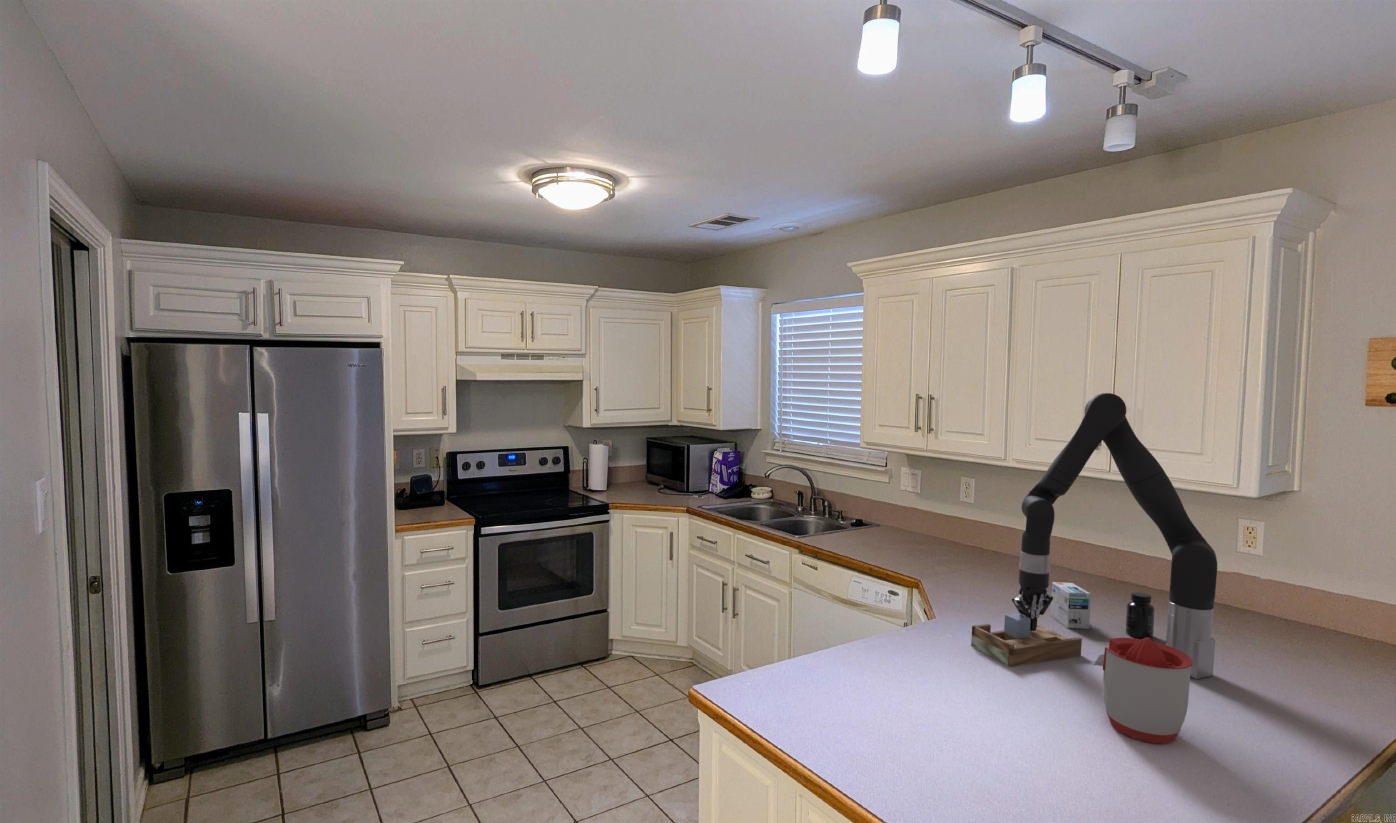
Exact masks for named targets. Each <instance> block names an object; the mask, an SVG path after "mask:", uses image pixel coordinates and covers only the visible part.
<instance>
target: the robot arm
mask: <svg viewBox="0 0 1396 823" xmlns="http://www.w3.org/2000/svg"><path fill="white" fill-rule="evenodd" d="M1102 441H1103V443H1104V444H1105V446H1106V447H1107V449H1108V450H1109V452H1110V455H1111V458H1112V459H1113V461H1114V463H1115V466H1116V468H1117V470H1118V471H1119V474H1120V475H1121V477H1122V479H1123V481H1124V483H1125V485H1126V487H1128V490H1129V492H1130V493H1131V495H1132V497H1133V498H1134V499H1135V501H1136V502H1137V503H1138V505H1139V506H1140V508H1141V509H1142V510H1143V511H1144V512H1145V513H1146V515H1147V516H1148V517H1149V519H1151V520H1152V522H1153V523H1154V524H1155V525H1156V526H1157V528H1158V529H1159V531H1160V533H1161V534H1162V537H1163V538H1164V540H1165V543H1166V545H1167V547H1168V549H1169V551H1170V554H1171V566H1170V578H1169V579H1170V580H1169V594H1168V610H1167V611H1168V612H1167V623H1166V636H1165V638H1166V639H1165V645H1167V646H1170V647H1172V648H1175V649H1177V650H1179V651H1181V652H1183V653H1185V654H1187V655H1188V656H1189V657H1190V658H1191V659H1192V661H1193V664H1192V666H1191V670H1190V678H1193V679H1194V680H1195V679H1196V680H1198V679H1199V680H1200V679H1205V678H1209V677H1213V676H1214V666H1215V664H1214V662H1215V650H1216V639H1215V637H1212V634H1213V633H1212V632H1213V621H1214V607H1215V600H1216V599H1215V598H1216V587H1217V576H1218V560H1217V555H1216V552H1215V550H1214V548H1213V547H1212V546H1211V545H1210V543H1208V542H1207V540H1206V539H1205V537H1204V536H1203V535H1202V534H1201V533H1200V531H1199V530H1198V528H1197V527H1196V526H1195V525H1194V523H1193V522H1192V520H1191V519H1190V517H1189V515H1188V513H1187V511H1186V509H1185V506H1184V504H1183V502H1182V500H1181V498H1180V497H1179V494H1178V492H1177V490H1176V489H1175V487H1174V485H1173V483H1172V481H1171V480H1170V478H1169V476H1168V475H1167V473H1166V471H1165V470H1164V468H1163V466H1162V465H1161V464H1160V463H1159V462H1158V460H1157V459H1156V458H1155V456H1154V455H1153V454H1152V453H1151V451H1149V449H1148V448H1147V447H1146V446H1145V445H1144V444H1143V443H1142V442H1141V441H1140V439H1139V438H1138V437H1137V436H1136V433H1135V432H1134V430H1133V428H1132V427H1131V424H1130V423H1129V420H1128V418H1127V405H1126V403H1125V401H1124V399H1123V398H1121V396H1119V395H1118V394H1114V393H1111V392H1104V393H1103V392H1102V393H1098V394H1097V395H1095V396H1093V397H1092V398H1090V399H1089V400H1088V401H1087V403H1086V405H1085V407H1084V416H1083V418H1082V420H1081V422H1080V424H1079V426H1078V427H1077V429H1076V431H1075V433H1074V435H1072V437H1071V438H1070V440H1069V441H1068V442H1067V444H1066V445H1065V446H1064V447H1063V448H1062V450H1061V451H1060V452H1059V453H1058V455H1057V456H1055V459H1054V460H1053V461H1052V462H1051V464H1050V465H1049V467H1048V468H1047V470H1046V471H1045V472H1044V474H1043V476H1042V478H1041V479H1040V480H1039V482H1037V483H1036V484H1035V486H1033V488H1032V489H1031V490H1030V491H1029V492H1027V494H1026V495H1025V497H1024V499H1023V500H1022V503H1021V512H1022V514H1023V515H1024V516H1025V519H1026V521H1025V531H1023V532H1022V536H1021V544H1020V545H1021V548H1020V550H1021V551H1020V556H1019V564H1018V565H1019V567H1018V584H1019V586H1020V589H1019V591H1018V595H1017V597H1012V598H1011V602H1012V603H1013V605H1014V607H1015V608H1016V610H1017V612H1018V613H1019V614H1021V615H1023V616H1025V617H1028V618H1030V619H1031V621H1030V631H1036V628H1037V626H1038V618H1039V617H1040V616H1043V615H1045V613H1046V611H1047V609H1048V608H1049V606H1050V605H1051V602H1052V600H1053V597H1052V595H1049V594H1048V590H1047V589H1048V588H1049V586H1050V568H1051V558H1050V554H1051V553H1050V552H1051V551H1050V549H1051V536H1052V533H1053V527H1054V523H1055V517H1056V516H1055V513H1056V512H1055V508H1054V506H1053V505H1054V504H1055V502H1056V501H1057V500H1058V498H1059V497H1061V496H1065V494H1067V492H1068V491H1069V490H1070V488H1072V486H1073V484H1074V483H1075V481H1076V480H1077V478H1078V477H1079V475H1080V474H1081V472H1082V470H1083V469H1084V468H1085V466H1086V465H1087V463H1088V462H1089V460H1090V458H1091V456H1092V455H1093V453H1094V452H1095V450H1097V448H1098V446H1099V445H1101V443H1102Z"/></svg>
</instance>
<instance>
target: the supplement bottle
mask: <svg viewBox="0 0 1396 823" xmlns="http://www.w3.org/2000/svg"><path fill="white" fill-rule="evenodd" d="M1130 600H1131V601H1128V602H1127V603H1126V618H1125V633H1126V634H1127V635H1128V636H1130V637H1131V638H1136V639H1144V638H1146V637H1148V638H1150V639H1153V638H1154V632H1155V631H1154V630H1155V615H1156V614H1155V613H1156V612H1155V610H1156V609H1155V607H1154V605H1152V604H1151V603H1152V595H1151V594H1149V593H1145V592H1140V591H1134V592H1131V596H1130Z"/></svg>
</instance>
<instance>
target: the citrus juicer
mask: <svg viewBox="0 0 1396 823" xmlns="http://www.w3.org/2000/svg"><path fill="white" fill-rule="evenodd" d="M1103 653H1104V654H1100V655H1099V656H1097V658H1096V660H1095V661H1093V664H1092V665H1093V666H1101V667H1102V670H1103V673H1102V674H1103V675H1102V676H1103V678H1102V693H1103V702H1104V706H1105V710H1106V714H1107V718H1108V720H1109V723H1110V725H1111V727H1113V728H1114V729H1116V731H1117V732H1118V733H1121V734H1124V735H1125V736H1128V737H1130V738H1132V739H1133V738H1134V739H1136V740H1139V741H1143V742H1147V743H1151V744H1152V743H1154V744H1157V745H1163V744H1167V743H1169V744H1170V743H1171V742H1173V741H1174V740H1175V739H1176V738H1177V736H1178V735H1179V733H1180V732H1181V728H1182V727H1183V724H1184V722H1185V720H1186V715H1187V712H1188V705H1189V695H1190V683H1191V677H1190V670H1191V666H1192V664H1193V661H1192V659H1191V658H1190V657H1189V656H1188V655H1187V654H1185V653H1183V652H1181V651H1179V650H1177V649H1175V648H1172V647H1170V646H1167V645H1166V644H1163V643H1159V642H1155V641H1154V640H1153V638H1151V639H1150V638H1148V637H1146V638H1144V639H1139V638H1135V637H1115V638H1114V637H1113V638H1110V639H1109V644H1108V647H1106V646H1105V647H1104V652H1103Z"/></svg>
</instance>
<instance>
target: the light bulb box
mask: <svg viewBox="0 0 1396 823" xmlns="http://www.w3.org/2000/svg"><path fill="white" fill-rule="evenodd" d="M1051 596H1052V597H1053V600H1052V602H1051V603H1050V605H1051V606H1050V617H1052V618H1053V619H1055V620H1056V621H1057V622H1058V623H1060V624H1061V625H1063V626H1064V627H1065V628H1067V629H1090V618H1091V601H1092V600H1091V599H1092V593H1091V592H1089V591H1087V590H1086V589H1084V588H1082V587H1080V586H1078V585H1076V584H1075V583H1074V582H1060V581H1059V582H1058V581H1052V584H1051Z"/></svg>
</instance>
